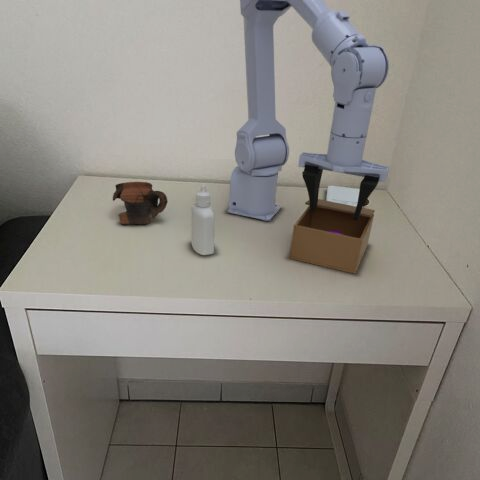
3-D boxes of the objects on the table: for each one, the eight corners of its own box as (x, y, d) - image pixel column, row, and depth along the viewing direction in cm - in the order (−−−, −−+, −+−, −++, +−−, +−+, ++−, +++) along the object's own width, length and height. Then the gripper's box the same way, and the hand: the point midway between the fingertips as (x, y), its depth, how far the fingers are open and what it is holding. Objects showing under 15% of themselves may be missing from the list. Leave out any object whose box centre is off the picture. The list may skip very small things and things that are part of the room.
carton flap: (312, 200, 94) (312, 197, 94) (374, 212, 91) (374, 210, 91) (304, 204, 89) (305, 202, 89) (370, 217, 86) (371, 215, 86)
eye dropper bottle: (215, 242, 93) (217, 180, 86) (213, 257, 88) (215, 192, 81) (192, 241, 93) (192, 179, 86) (189, 255, 88) (188, 190, 81)
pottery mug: (105, 226, 97) (101, 183, 96) (130, 229, 106) (127, 190, 105) (159, 220, 93) (156, 176, 92) (181, 224, 102) (178, 183, 101)
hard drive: (361, 195, 117) (362, 216, 107) (326, 191, 118) (324, 211, 108) (363, 189, 116) (363, 209, 106) (328, 185, 117) (325, 204, 107)
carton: (307, 232, 98) (311, 201, 95) (367, 245, 95) (374, 214, 91) (289, 258, 89) (293, 225, 85) (355, 273, 86) (362, 240, 82)
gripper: (297, 132, 77) (287, 213, 85) (391, 147, 73) (372, 231, 81) (309, 122, 82) (299, 199, 90) (397, 135, 78) (379, 215, 86)
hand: (334, 213), depth 86 cm, fingers open, 7 cm apart
